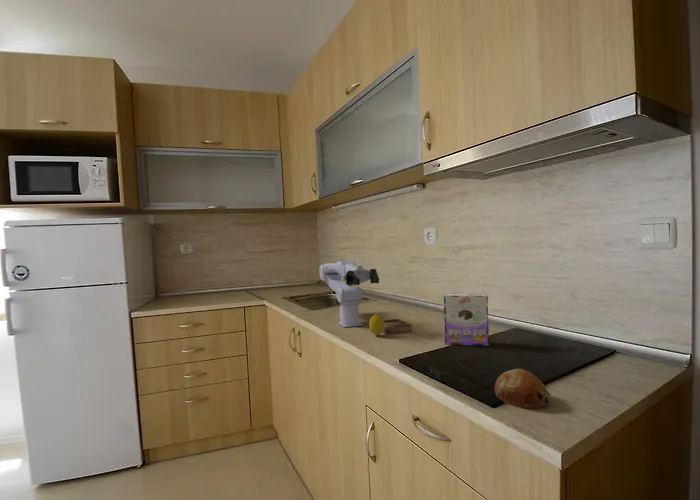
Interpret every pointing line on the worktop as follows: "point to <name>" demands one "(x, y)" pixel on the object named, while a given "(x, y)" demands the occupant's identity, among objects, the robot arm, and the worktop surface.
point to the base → (396, 326)
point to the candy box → (466, 319)
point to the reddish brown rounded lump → (521, 389)
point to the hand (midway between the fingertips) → (368, 281)
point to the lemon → (376, 324)
